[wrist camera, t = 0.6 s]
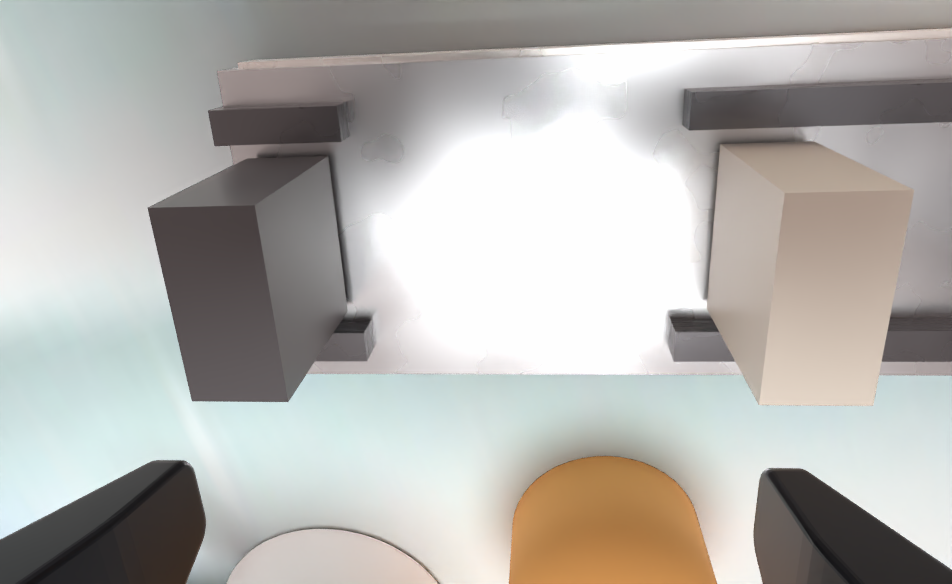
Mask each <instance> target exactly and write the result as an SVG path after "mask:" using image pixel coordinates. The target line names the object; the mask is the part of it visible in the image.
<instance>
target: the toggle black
mask: <svg viewBox="0 0 952 584" xmlns="http://www.w3.org/2000/svg"><path fill="white" fill-rule="evenodd" d="M148 212H149V216H150V220H151V225H152V229H153V233H154V238H155V242H156V246H157V251H158V255H159V259H160V264H161V268H162V272H163V277H164V281H165V286H166V290H167V294H168V299H169V303H170V307H171V312H172V316H173V320H174V325H175V329H176V333H177V338H178V342H179V346H180V351H181V355H182V360H183V364H184V368H185V373H186V377H187V381H188V386H189V390H190V394H191V399H192V401H237V402H288V401H289V400H290V398H291V397H292V395H293V394H294V392H295V391H296V389H297V388H298V386H299V385H300V383H301V382H302V380H303V379H304V377H305V376H306V374H307V372H308V371H309V369H310V368H311V366H312V365H313V363H314V362H315V360H316V359H317V357H318V356H319V354H320V353H321V351H322V350H323V348H324V347H325V345H326V343H327V342H328V340H329V339H330V337H331V336H332V334H333V333H334V331H335V330H336V328H337V327H338V325H339V324H340V322H341V321H342V319H343V318H344V316H345V314H346V313H347V311H348V309H347V301H346V293H345V285H344V277H343V269H342V261H341V254H340V246H339V238H338V230H337V222H336V214H335V206H334V198H333V190H332V182H331V175H330V167H329V159H328V156H311V157H278V158H247V159H245V160H243V161H241V162H239V163H237V164H235V165H233V166H231V167H229V168H227V169H225V170H223V171H221V172H219V173H217V174H215V175H213V176H211V177H209V178H207V179H205V180H203V181H201V182H199V183H197V184H195V185H192V186H190V187H188V188H186V189H184V190H182V191H180V192H178V193H176V194H174V195H172V196H170V197H168V198H166V199H164V200H162V201H160V202H158V203H156V204H154V205H152V206H150V207H148Z"/></svg>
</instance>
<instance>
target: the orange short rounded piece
mask: <svg viewBox="0 0 952 584" xmlns="http://www.w3.org/2000/svg"><path fill="white" fill-rule="evenodd" d="M509 584H717V582H716V578H715V575H714V572H713V568H712V565H711V562H710V558H709V555H708V552H707V548H706V545H705V542H704V538H703V535H702V532H701V529H700V525H699V522H698V519H697V515H696V512H695V509H694V507H693V505H692V503H691V501H690V499H689V497H688V496H687V494H686V493H685V492H684V490H683V489H682V488H681V487H680V486H679V485H678V484H677V483H676V482H675V481H674V480H673V479H672V478H670V477H669V476H668V475H666V474H665V473H663V472H662V471H660V470H658V469H656V468H655V467H652V466H650V465H648V464H645V463H643V462H639V461H636V460H633V459H628V458H622V457H613V456H594V457H587V458H581V459H577V460H573V461H569V462H567V463H564V464H562V465H559V466H557V467H555V468H553V469H551V470H549V471H547V472H546V473H545V474H543V475H542V476H540V477H539V478H538V479H537V480H536V481H535V482H533V483H532V484H531V485H530V486H529V488H528V489H527V490H526V491H525V493H524V494H523V496H522V497H521V499H520V501H519V503H518V505H517V508H516V510H515V514H514V518H513V527H512V544H511V560H510V576H509Z"/></svg>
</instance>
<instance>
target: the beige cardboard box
mask: <svg viewBox="0 0 952 584" xmlns="http://www.w3.org/2000/svg"><path fill="white" fill-rule="evenodd" d="M913 195H914V190H913V189H911V188H909V187H907V186H905V185H903V184H901V183H899V182H897V181H895V180H893V179H891V178H889V177H887V176H885V175H883V174H880V173H878V172H876V171H874V170H872V169H870V168H868V167H866V166H864V165H862V164H860V163H858V162H856V161H854V160H852V159H850V158H848V157H845V156H843V155H841V154H839V153H837V152H835V151H833V150H831V149H829V148H827V147H825V146H823V145H821V144H819V143H817V142H815V141H803V142H770V143H737V144H720V153H719V165H718V177H717V189H716V201H715V213H714V225H713V237H712V249H711V261H710V273H709V285H708V297H707V310H708V312H709V314H710V316H711V318H712V319H713V321H714V323H715V325H716V327H717V329H718V330H719V332H720V334H721V336H722V338H723V340H724V341H725V343H726V345H727V347H728V349H729V351H730V353H731V354H732V356H733V358H734V360H735V362H736V364H737V365H738V367H739V369H740V371H741V373H742V375H743V376H744V378H745V380H746V382H747V384H748V386H749V387H750V389H751V391H752V393H753V395H754V397H755V399H756V400H757V402H758V404H759V405H819V406H873V404H874V398H875V393H876V388H877V383H878V377H879V372H880V367H881V362H882V357H883V351H884V346H885V341H886V336H887V330H888V325H889V320H890V315H891V310H892V304H893V299H894V294H895V289H896V283H897V278H898V273H899V268H900V263H901V257H902V252H903V247H904V242H905V236H906V231H907V226H908V221H909V216H910V210H911V205H912V200H913Z"/></svg>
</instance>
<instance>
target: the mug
mask: <svg viewBox="0 0 952 584" xmlns="http://www.w3.org/2000/svg"><path fill="white" fill-rule="evenodd" d="M226 584H438V583H437V582H436V581H435V579H434V578H433V577H432V576H431V575H430V574H429V573H428V572H427V571H426V570H425V569H424V568H423V567H422V566H421V565H420V564H419V563H417V562H416V561H415V560H413V559H412V558H411V557H409V556H408V555H406V554H405V553H403V552H402V551H400V550H398V549H397V548H395V547H393V546H391V545H389V544H387V543H384V542H382V541H380V540H377V539H375V538H372V537H369V536H365V535H362V534H358V533H354V532H349V531H343V530H334V529H308V530H300V531H294V532H290V533H286V534H282V535H279V536H277V537H274V538H272V539H269V540H267V541H265V542H263V543H262V544H260V545H258V546H257V547H255V548H254V549H253V550H251V551H250V552H249V553H248V554H247V555H245V556H244V557H243V558H242V559H241V561H240V562H239V563H238V564H237V565H236V567H235V568H234V570H233V571H232V573H231V575H230V577H229V579H228V581H227V583H226Z"/></svg>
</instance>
